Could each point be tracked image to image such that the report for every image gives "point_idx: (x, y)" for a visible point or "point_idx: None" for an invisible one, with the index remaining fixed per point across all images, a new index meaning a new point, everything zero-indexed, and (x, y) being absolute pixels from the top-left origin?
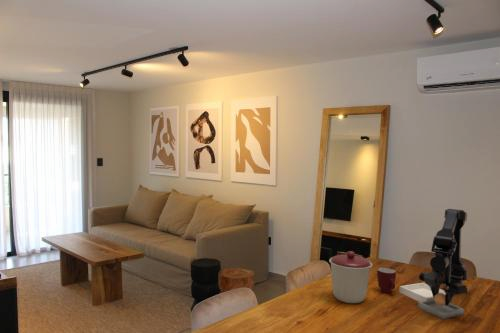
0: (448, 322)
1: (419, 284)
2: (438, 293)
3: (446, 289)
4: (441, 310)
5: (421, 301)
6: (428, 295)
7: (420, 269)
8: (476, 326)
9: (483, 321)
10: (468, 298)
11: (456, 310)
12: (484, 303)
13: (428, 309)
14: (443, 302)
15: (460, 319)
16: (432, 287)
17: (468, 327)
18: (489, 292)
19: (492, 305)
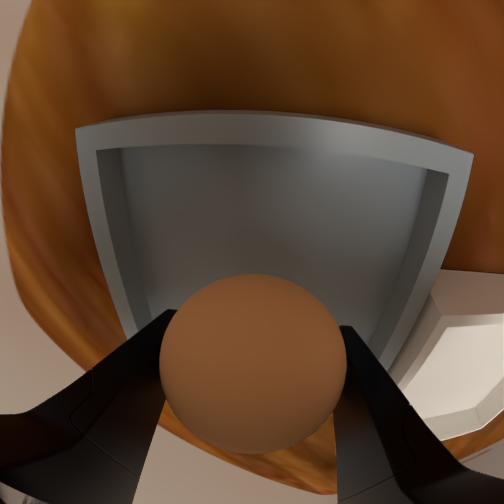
0: (60, 118)
1: (497, 408)
2: (281, 434)
3: (44, 501)
4: (232, 254)
5: (466, 278)
6: (446, 383)
7: (481, 446)
8: (20, 251)
9: (73, 335)
10: (301, 455)
11: (123, 318)
12: (240, 454)
13: (303, 115)
14: (173, 318)
15: (90, 258)
16: (410, 497)
17: (7, 196)
18: (292, 481)
19: (217, 454)
